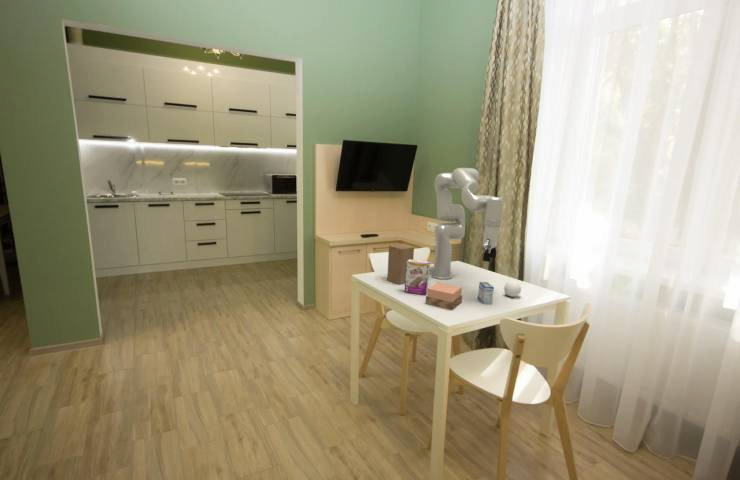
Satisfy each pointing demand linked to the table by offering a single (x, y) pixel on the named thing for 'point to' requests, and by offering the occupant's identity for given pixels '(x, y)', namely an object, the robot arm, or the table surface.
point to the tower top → (444, 292)
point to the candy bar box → (417, 277)
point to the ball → (512, 288)
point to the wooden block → (398, 262)
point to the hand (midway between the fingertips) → (489, 259)
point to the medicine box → (485, 292)
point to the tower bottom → (443, 303)
